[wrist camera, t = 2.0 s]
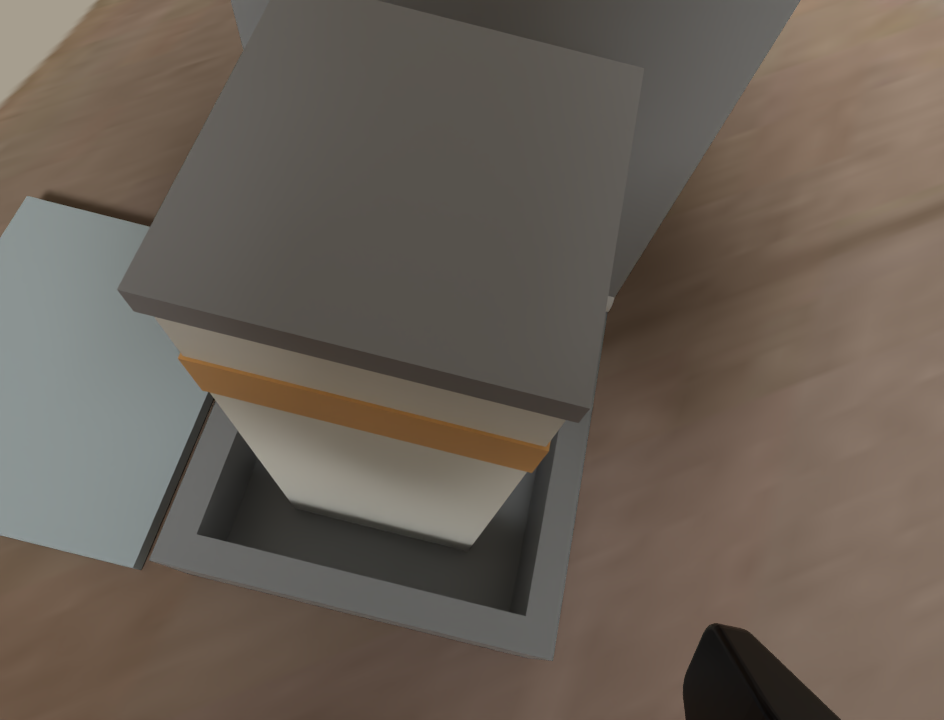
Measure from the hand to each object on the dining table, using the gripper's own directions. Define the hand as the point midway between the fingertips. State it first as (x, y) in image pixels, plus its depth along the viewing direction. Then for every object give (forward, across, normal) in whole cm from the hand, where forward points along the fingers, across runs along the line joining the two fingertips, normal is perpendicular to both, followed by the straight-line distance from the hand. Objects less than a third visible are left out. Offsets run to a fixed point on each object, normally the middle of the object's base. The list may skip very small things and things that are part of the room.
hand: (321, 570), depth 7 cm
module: (+11, 0, +4) cm, 12 cm away
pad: (+12, +10, +4) cm, 16 cm away
